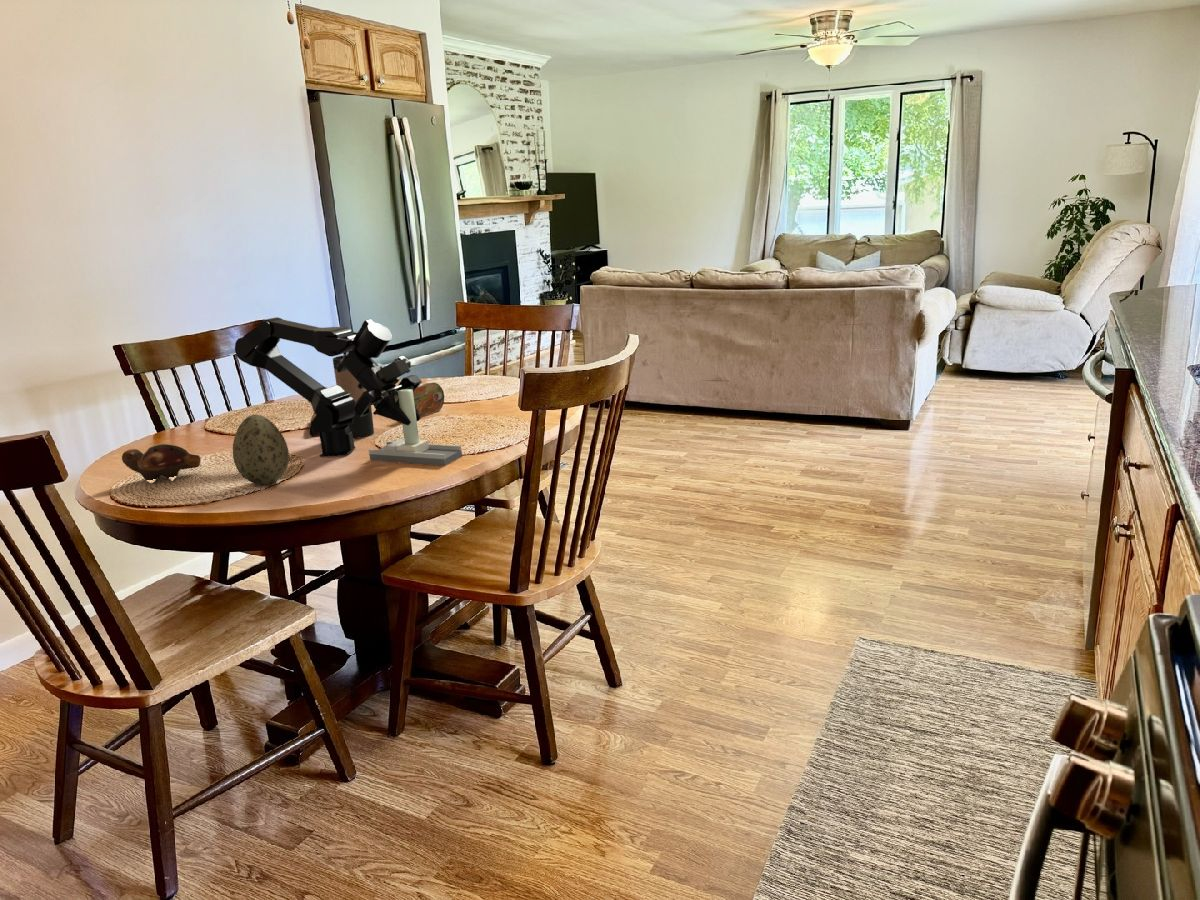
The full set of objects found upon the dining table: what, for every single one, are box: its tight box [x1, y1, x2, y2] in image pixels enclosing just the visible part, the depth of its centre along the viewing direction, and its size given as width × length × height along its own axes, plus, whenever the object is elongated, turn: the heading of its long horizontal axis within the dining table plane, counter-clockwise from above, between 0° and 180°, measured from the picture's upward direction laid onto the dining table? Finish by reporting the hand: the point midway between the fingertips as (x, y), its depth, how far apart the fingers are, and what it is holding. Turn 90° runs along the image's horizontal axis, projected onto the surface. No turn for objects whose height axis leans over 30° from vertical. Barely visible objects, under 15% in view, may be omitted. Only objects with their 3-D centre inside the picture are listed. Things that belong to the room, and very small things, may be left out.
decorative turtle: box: [121, 443, 201, 481], centre depth 182 cm, size 10×15×8 cm, turn 120°
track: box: [368, 438, 463, 467], centre depth 185 cm, size 20×7×4 cm, turn 67°
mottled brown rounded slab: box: [413, 381, 445, 419], centre depth 225 cm, size 15×3×8 cm, turn 148°
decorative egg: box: [232, 414, 290, 485], centre depth 173 cm, size 11×11×15 cm
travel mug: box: [332, 354, 375, 439], centre depth 207 cm, size 8×8×20 cm
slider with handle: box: [396, 389, 430, 453], centre depth 184 cm, size 5×5×14 cm
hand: (414, 421), depth 183 cm, fingers open, 3 cm apart
